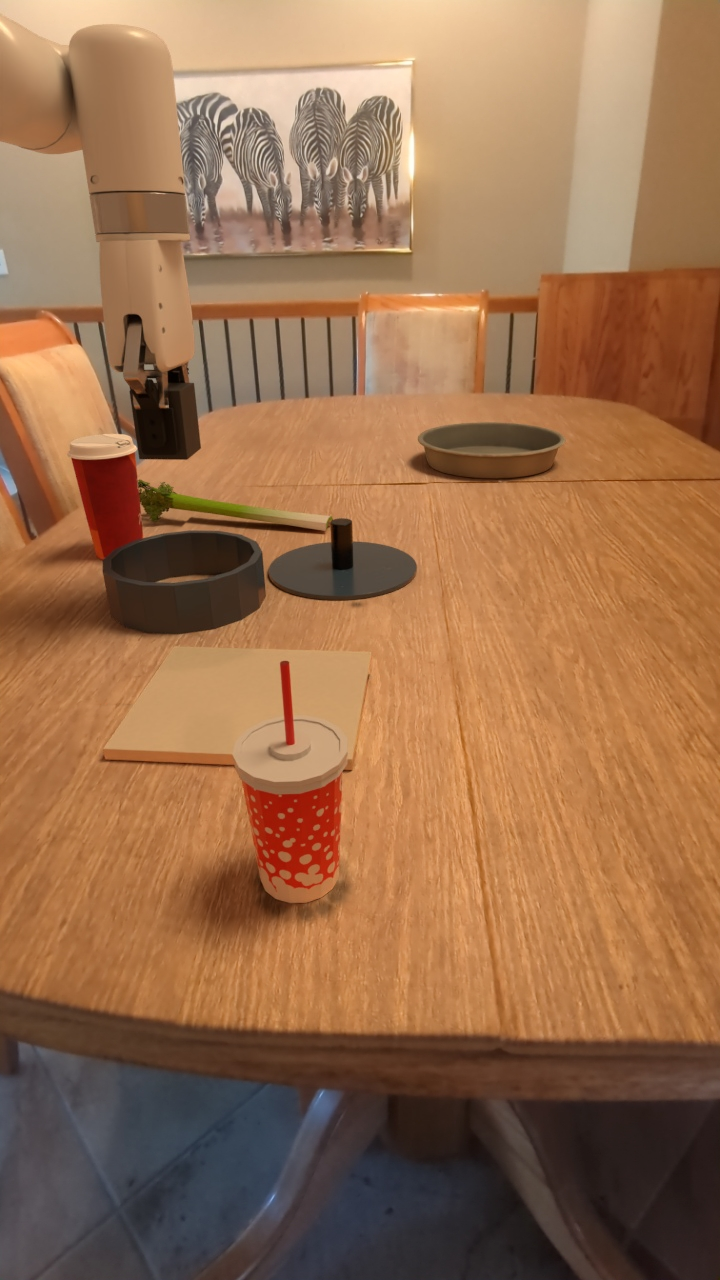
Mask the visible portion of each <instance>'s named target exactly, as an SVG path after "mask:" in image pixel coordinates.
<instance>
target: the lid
mask: <svg viewBox="0 0 720 1280" xmlns="http://www.w3.org/2000/svg"><path fill="white" fill-rule="evenodd" d="M329 528H330V541H327V542H320V543H313V544H309V545H305V546H301V547H297V548H294V549H292V550H289V551H286V552H284V553H282V554H281V555H279V556H277V557H276V558H275V559H273V560H272V561H271V563H270V565H269V567H268V578H269V580H270V582H271V583H272V584H273V585H274V586H275V587H276V588H277V589H280V590H281V591H283V592H286V593H288V594H291V595H295V596H297V597H303V598H308V599H313V600H315V599H316V600H323V601H324V600H325V601H349V600H350V601H351V600H361V599H368V598H374V597H378V596H379V597H380V596H383V595H385V594H389V593H393V592H395V591H398V590H400V589H401V588H403V587H405V586H407V585H409V584H410V583H411V582H412V581H413V580H414V579H415V577H416V576H417V572H418V566H417V565H418V564H417V562H416V560H415V559H414V558H413V557H412V556H411V555H410V554H409V553H407V552H406V551H403V550H401V549H399V548H397V547H393V546H390V545H386V544H381V543H376V542H369V541H368V542H367V541H354V534H353V532H354V531H353V520H351V519H350V518H345V517H344V518H342V517H341V518H334V519H333V520H332V521H331V522H330V527H329Z"/></svg>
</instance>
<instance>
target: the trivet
mask: <svg viewBox="0 0 720 1280" xmlns="http://www.w3.org/2000/svg"><path fill="white" fill-rule="evenodd" d="M372 658H373V652H372V651H363V650H362V651H361V650H360V651H359V650H358V651H357V650H328V649H327V650H326V649H325V650H324V649H323V650H322V649H321V650H320V649H293V648H292V649H290V648H289V649H286V648H253V647H246V648H245V647H220V646H219V647H217V646H216V647H215V646H187V645H184V646H183V645H174V646H172V648H171V649H170V650H169V652H168V654H167V655H166V656H165V658H164V660H163V661H162V662H161V664H160V665H159V667H158V668H157V670H156V671H155V673H154V674H153V675H152V677H151V678H150V680H148V682H147V684H146V686H145V687H143V689H142V691H141V692H140V694H139V695H138V697H137V698H136V700H135V702H134V703H133V704H132V706H131V707H130V709H129V710H128V712H127V713H126V714H125V716H124V717H123V719H122V720H121V722H119V724H118V726H117V727H116V729H115V731H114V732H113V733H112V735H111V736H110V738H109V739H108V740H107V742H106V743H105V744H104V746H103V748H102V751H103V755H104V759H105V760H110V761H131V762H153V763H154V762H155V763H156V762H157V763H158V762H159V763H176V764H202V765H223V766H235V762H234V760H233V755H232V754H233V750H234V745H235V741H236V740H237V739H238V738H239V737H240V736H241V735H242V734H243V733H244V732H245V730H247V729H248V728H250V727H252V726H254V725H256V724H258V723H260V722H262V721H264V720H268V719H272V718H276V717H281V716H284V710H283V697H282V684H281V671H280V662H281V661H289V665H290V679H291V693H292V708H293V716H294V715H306V716H311V717H316V718H321V719H325V720H327V721H328V722H330V723H332V724H334V725H336V726H338V727H339V728H340V729H341V730H342V732H343V733H344V734H345V736H346V737H347V741H348V756H347V765H346V767H345V768H344V770H343V771H353V769H354V765H355V759H356V753H357V748H358V742H359V736H360V731H361V725H362V720H363V713H364V710H365V709H364V708H365V704H366V699H367V691H368V686H369V680H370V675H371V674H370V670H371V664H372Z"/></svg>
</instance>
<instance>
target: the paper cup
mask: <svg viewBox="0 0 720 1280" xmlns="http://www.w3.org/2000/svg"><path fill="white" fill-rule="evenodd" d="M133 440H134V439H133V438H132V437H131V436H130V435H128V434H122V433H102V434H100V433H99V434H92V435H85V436H81V437H78V438H75V439H73V440H71V441H70V443H69V450H68V451H67V453H66V454H67V457H69V458H70V459H71V463H72V466H73V471H74V475H75V478H76V482H77V486H78V490H79V494H80V498H81V502H82V506H83V510H84V514H85V517H86V522H87V525H88V529H89V533H90V537H91V541H92V544H93V548H94V552H95V555H96V557H97V558H98V559H99V560H103V559H104V558H106V557H107V556H108V555H109V554H110V553H111V552H112V551H113V550H115V549H116V548H119V547H121V546H123V545H126V544H128V543H130V542H133V541H135V540H138V539H142V538H144V529H143V521H142V519H143V518H142V510H141V509H142V507H141V504H140V498H139V489H140V488H138V482H139V481H138V480H139V478H138V470H137V458H136V452H138V447H137V445H136V444H134V441H133Z"/></svg>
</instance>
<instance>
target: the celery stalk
mask: <svg viewBox="0 0 720 1280" xmlns="http://www.w3.org/2000/svg"><path fill="white" fill-rule="evenodd" d="M138 488H139V498H140V506H142V508H143V510H144V513H145V515H147V516H149V519H150V521H151V522H154V523H157V522H159V521H160V520H161V519H164V517H163V516H162V515H163V513H164V512H166V513H167V512H169V511H170V509H173V510H181V511H189V512H196V513H204V514H212V515H219V516H225V517H232V518H238V519H243V520H252V521H257V522H258V521H259V522H264V523H272V524H279V525H284V526H293V527H298V528H303V529H312V530H317V531H323V532H324V531H325V532H326V531H327V530H328V527H329V528H330V522H331V521H332V520H334V519H333V516H331V515H325V514H316V513H307V512H299V511H298V512H297V511H288V510H282V509H275V508H267V507H259V506H253V505H244V504H239V503H232V502H225V501H219V500H218V501H217V500H212V499H206V498H202V497H197V496H196V497H195V496H190V495H185V494H181V493H177V492H176V491H174V486H171V485H170V484H169V483H167V484H166V481H163V482H160V485H158V487H155V486H151V483H150V482H147V481H145V480H142V479H139V478H138Z"/></svg>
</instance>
